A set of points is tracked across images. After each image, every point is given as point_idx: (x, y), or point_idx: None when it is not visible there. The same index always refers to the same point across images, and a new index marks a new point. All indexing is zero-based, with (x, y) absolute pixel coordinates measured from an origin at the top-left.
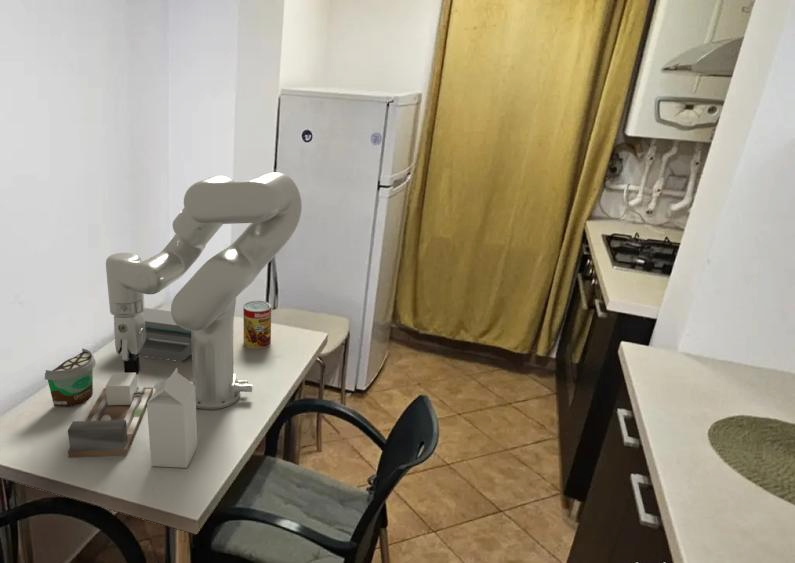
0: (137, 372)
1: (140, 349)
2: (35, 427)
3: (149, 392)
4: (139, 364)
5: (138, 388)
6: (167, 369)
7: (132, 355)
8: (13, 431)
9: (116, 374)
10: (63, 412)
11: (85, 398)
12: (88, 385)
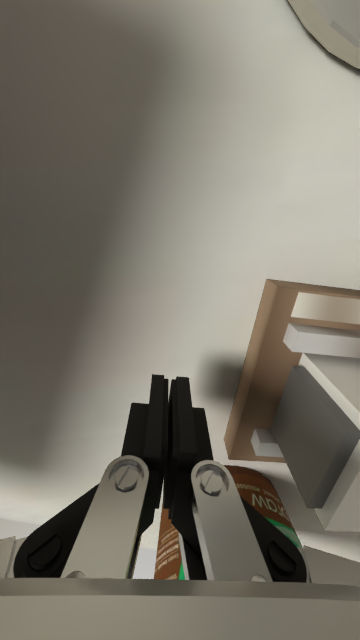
0: (189, 385)
1: (325, 612)
2: (350, 533)
3: (329, 298)
4: (155, 402)
5: (269, 349)
6: (27, 223)
7: (283, 562)
8: (347, 558)
9: (354, 517)
10: (303, 504)
11: (265, 484)
12: None
